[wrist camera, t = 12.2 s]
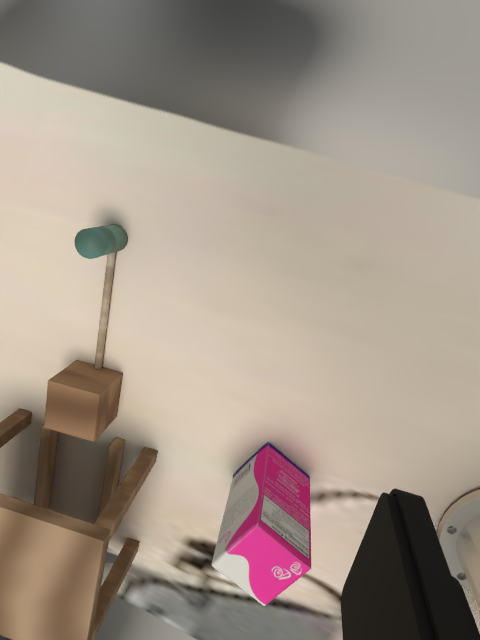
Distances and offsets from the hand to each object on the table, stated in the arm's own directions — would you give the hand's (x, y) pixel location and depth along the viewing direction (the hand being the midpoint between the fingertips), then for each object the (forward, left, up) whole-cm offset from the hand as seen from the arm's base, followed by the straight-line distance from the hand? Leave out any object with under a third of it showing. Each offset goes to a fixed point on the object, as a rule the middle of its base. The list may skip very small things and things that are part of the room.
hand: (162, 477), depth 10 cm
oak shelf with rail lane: (+15, +29, -30) cm, 45 cm away
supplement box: (-5, +21, -31) cm, 37 cm away
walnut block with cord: (+15, +10, -30) cm, 35 cm away
